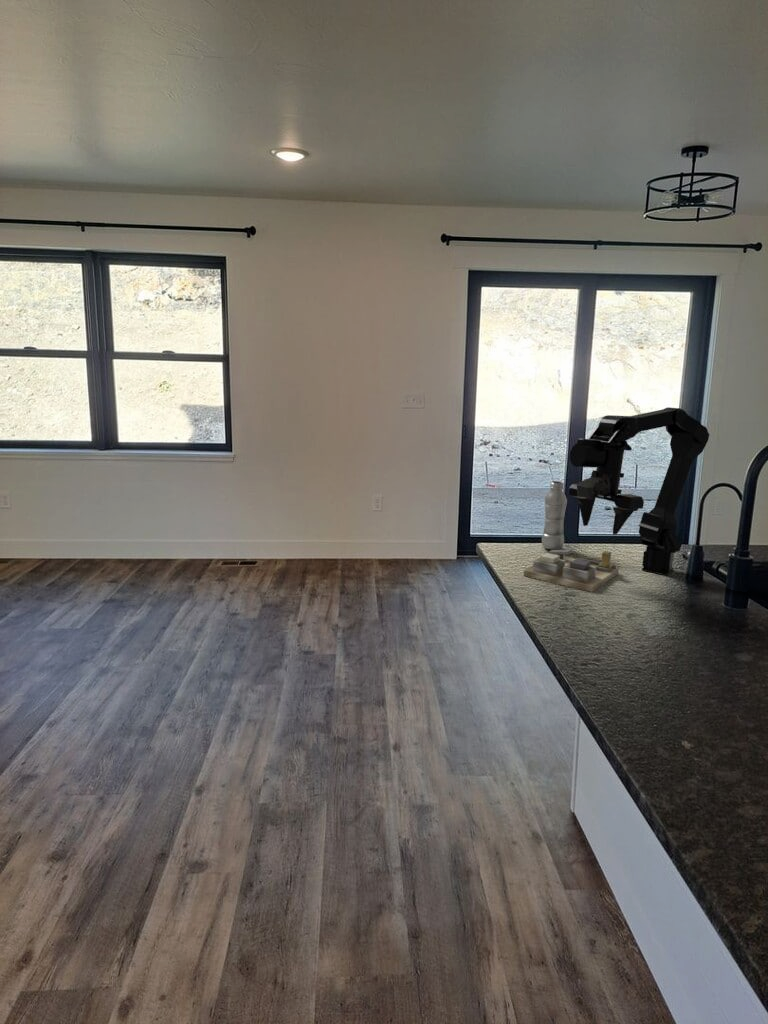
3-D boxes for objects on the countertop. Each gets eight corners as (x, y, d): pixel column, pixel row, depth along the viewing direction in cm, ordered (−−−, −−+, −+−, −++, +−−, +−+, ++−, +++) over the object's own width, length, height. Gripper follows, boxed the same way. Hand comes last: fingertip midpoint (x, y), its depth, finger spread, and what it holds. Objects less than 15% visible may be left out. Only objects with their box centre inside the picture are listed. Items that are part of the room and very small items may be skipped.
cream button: (559, 563, 164) (559, 555, 164) (553, 566, 162) (553, 558, 161) (546, 560, 167) (546, 552, 166) (539, 563, 164) (540, 555, 163)
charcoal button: (589, 569, 160) (590, 561, 159) (583, 573, 157) (584, 565, 156) (575, 566, 162) (576, 559, 161) (569, 570, 159) (570, 562, 159)
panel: (618, 573, 168) (619, 558, 167) (591, 592, 154) (593, 575, 153) (553, 560, 179) (554, 545, 178) (523, 575, 165) (524, 560, 164)
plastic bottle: (540, 551, 187) (545, 483, 182) (541, 545, 193) (546, 479, 189) (563, 553, 185) (568, 485, 181) (563, 547, 191) (569, 481, 187)
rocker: (572, 552, 173) (572, 549, 173) (568, 554, 171) (567, 551, 171) (552, 552, 177) (552, 549, 176) (548, 554, 174) (548, 552, 174)
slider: (612, 568, 166) (614, 552, 165) (609, 570, 165) (610, 554, 164) (601, 565, 168) (602, 550, 167) (597, 567, 167) (599, 552, 166)
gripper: (557, 462, 160) (549, 523, 163) (618, 474, 145) (608, 541, 148) (587, 462, 166) (579, 521, 169) (649, 473, 151) (639, 538, 154)
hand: (599, 529), depth 160 cm, fingers open, 9 cm apart
